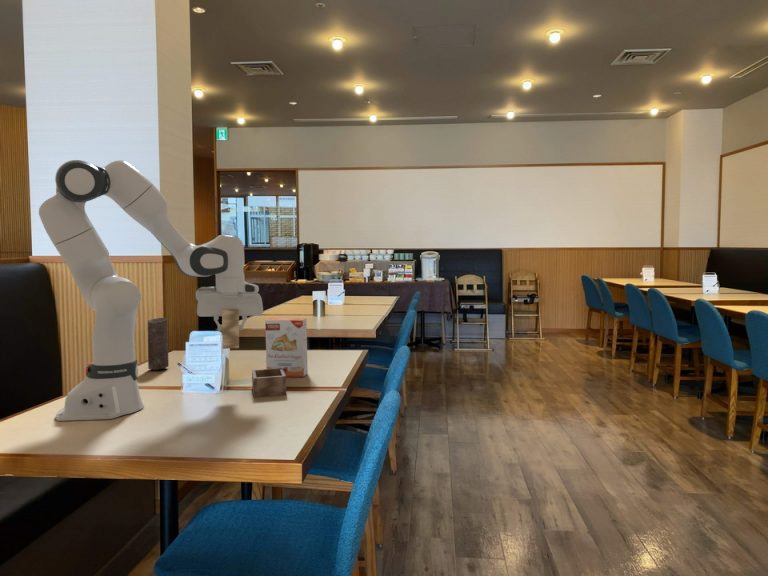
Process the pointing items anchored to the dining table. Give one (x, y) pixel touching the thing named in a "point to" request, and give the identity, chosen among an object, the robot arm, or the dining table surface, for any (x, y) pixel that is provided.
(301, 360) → the cracker box
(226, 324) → the oak block
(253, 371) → the caddy
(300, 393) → the dining table surface
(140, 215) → the robot arm
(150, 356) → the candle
